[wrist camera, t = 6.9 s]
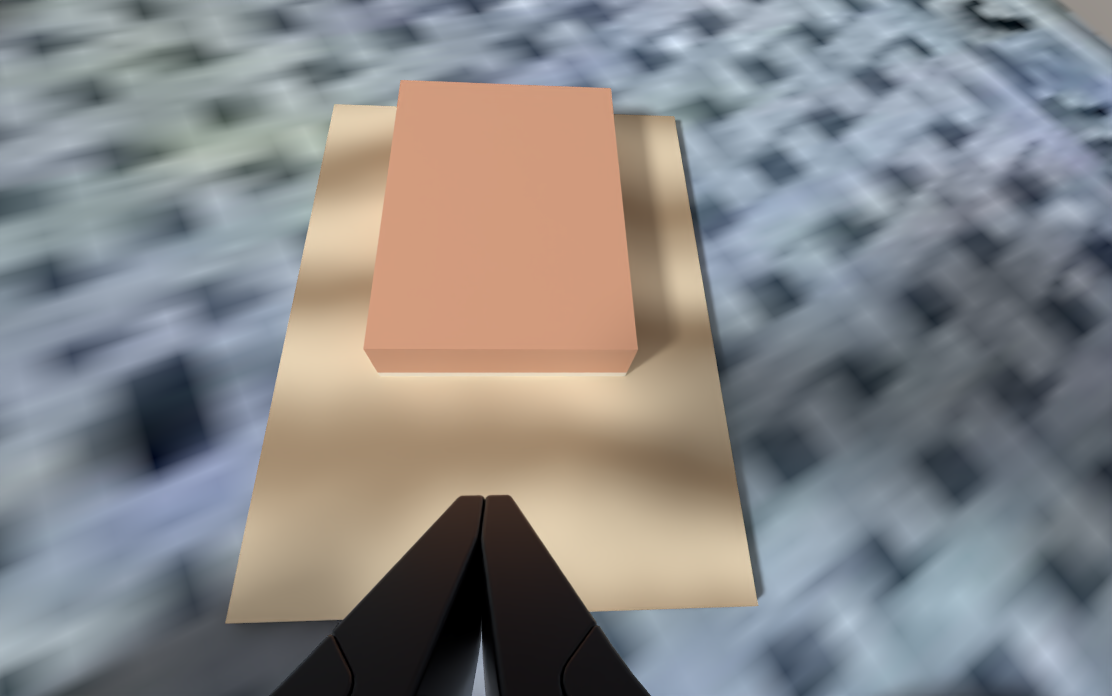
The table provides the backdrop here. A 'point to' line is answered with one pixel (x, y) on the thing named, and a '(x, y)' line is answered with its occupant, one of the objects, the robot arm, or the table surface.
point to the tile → (502, 236)
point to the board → (495, 420)
